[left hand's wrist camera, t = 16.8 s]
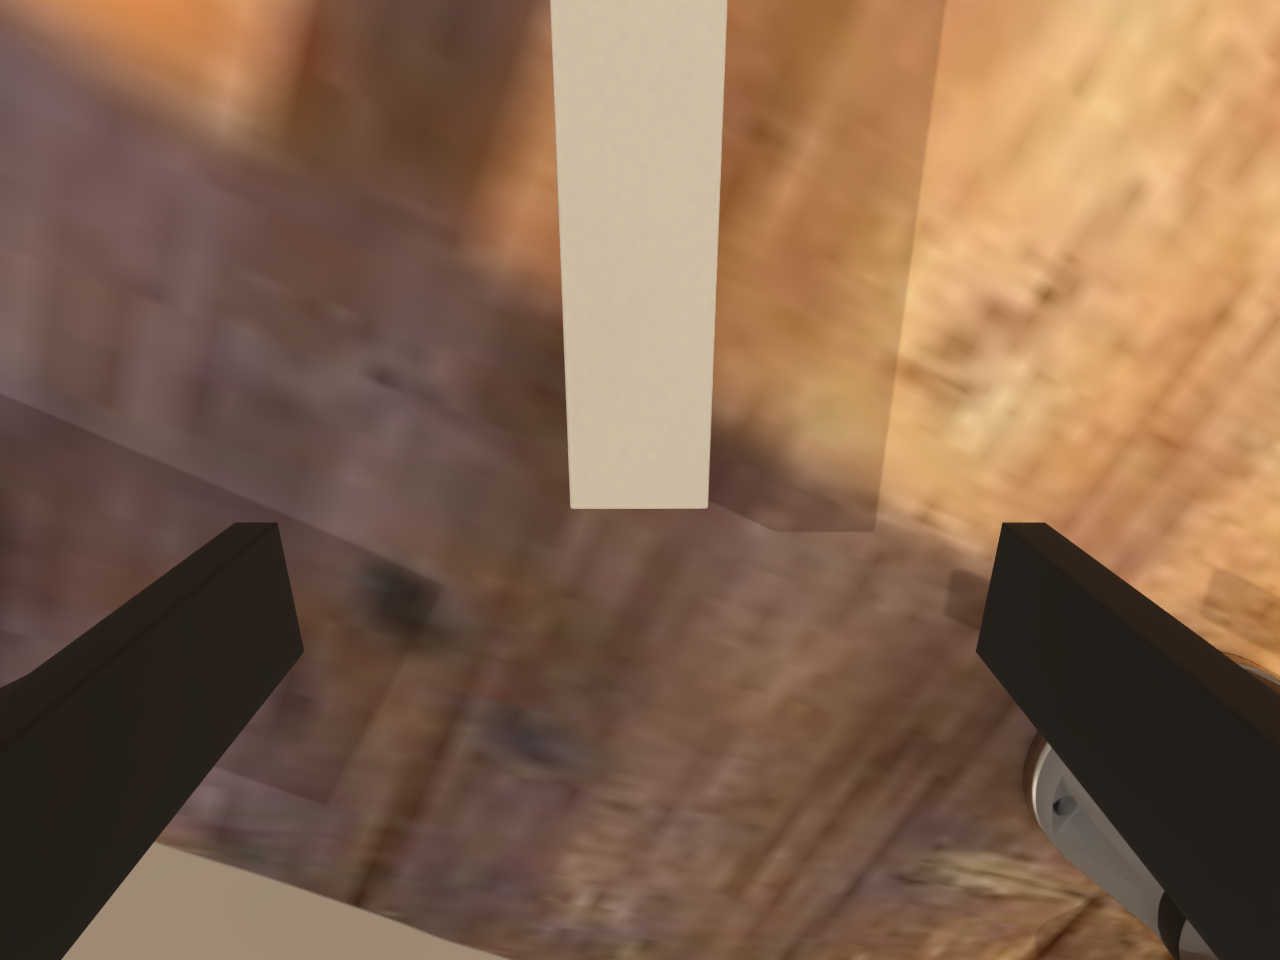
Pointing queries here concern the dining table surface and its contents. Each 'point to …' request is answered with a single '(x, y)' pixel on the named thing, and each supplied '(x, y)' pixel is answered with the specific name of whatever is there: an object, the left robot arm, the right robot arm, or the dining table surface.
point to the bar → (638, 243)
